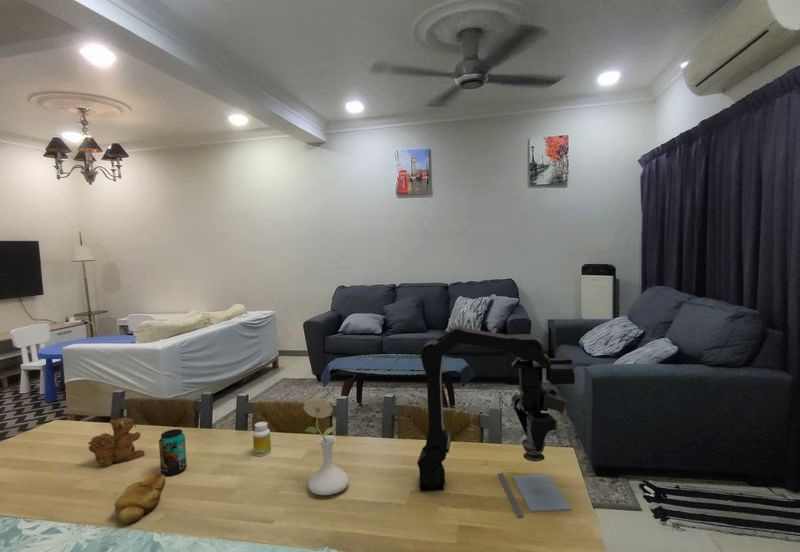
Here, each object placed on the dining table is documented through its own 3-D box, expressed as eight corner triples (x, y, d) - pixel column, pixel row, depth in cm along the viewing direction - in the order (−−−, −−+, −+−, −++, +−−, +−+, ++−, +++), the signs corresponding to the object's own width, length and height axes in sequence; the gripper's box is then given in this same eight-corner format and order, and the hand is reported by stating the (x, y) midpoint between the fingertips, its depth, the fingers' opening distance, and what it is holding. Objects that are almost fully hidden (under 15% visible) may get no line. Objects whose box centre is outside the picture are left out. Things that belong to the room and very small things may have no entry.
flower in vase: (357, 481, 120) (353, 394, 119) (334, 503, 110) (330, 408, 109) (319, 473, 126) (315, 390, 124) (294, 493, 115) (289, 403, 114)
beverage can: (155, 474, 129) (153, 436, 128) (175, 464, 135) (173, 427, 134) (172, 478, 126) (169, 439, 125) (192, 467, 132) (189, 429, 132)
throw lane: (517, 517, 101) (517, 516, 101) (497, 474, 121) (497, 473, 121) (574, 515, 101) (574, 513, 101) (545, 472, 121) (545, 471, 121)
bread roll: (139, 527, 103) (137, 495, 103) (101, 528, 103) (98, 496, 103) (170, 497, 116) (168, 468, 116) (135, 498, 116) (133, 469, 116)
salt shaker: (549, 461, 108) (547, 414, 107) (526, 462, 107) (524, 416, 107) (541, 450, 113) (539, 406, 113) (519, 452, 113) (517, 408, 113)
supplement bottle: (268, 456, 138) (266, 427, 137) (251, 456, 138) (249, 427, 137) (273, 448, 143) (271, 420, 143) (257, 449, 143) (255, 421, 143)
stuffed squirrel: (147, 454, 143) (145, 416, 142) (100, 473, 131) (97, 431, 130) (132, 448, 148) (130, 411, 147) (85, 466, 136) (82, 425, 136)
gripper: (577, 394, 100) (579, 459, 101) (549, 372, 119) (551, 427, 120) (530, 396, 100) (533, 461, 101) (509, 374, 119) (512, 429, 120)
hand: (533, 443), depth 110 cm, fingers closed on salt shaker, 8 cm apart
